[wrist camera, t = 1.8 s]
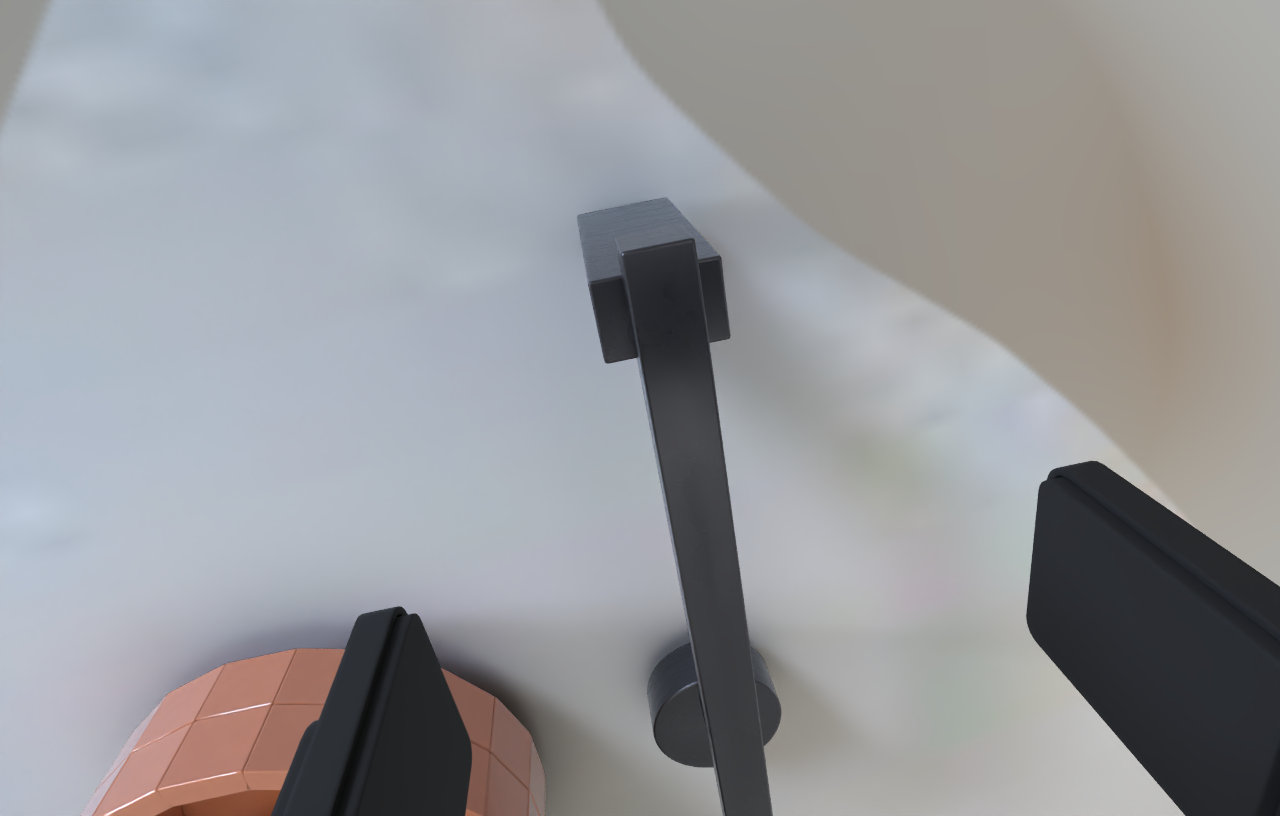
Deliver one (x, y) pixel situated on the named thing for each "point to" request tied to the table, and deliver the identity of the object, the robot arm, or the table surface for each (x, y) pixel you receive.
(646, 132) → the table surface
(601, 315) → the black lever handle
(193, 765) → the bowl
